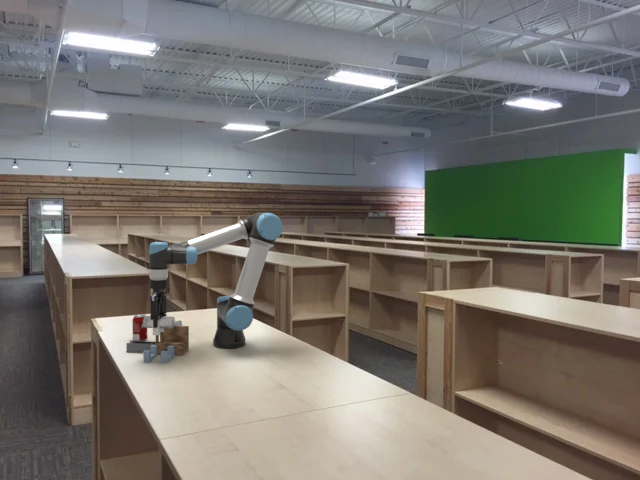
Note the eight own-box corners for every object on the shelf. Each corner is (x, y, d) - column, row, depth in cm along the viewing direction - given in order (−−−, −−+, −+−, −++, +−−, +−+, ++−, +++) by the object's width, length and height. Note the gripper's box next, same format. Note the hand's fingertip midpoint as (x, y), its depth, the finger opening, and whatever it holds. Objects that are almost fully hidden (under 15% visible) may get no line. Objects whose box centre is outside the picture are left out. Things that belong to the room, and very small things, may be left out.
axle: (174, 327, 229) (175, 315, 229) (170, 329, 224) (171, 317, 224) (147, 326, 230) (147, 314, 230) (142, 328, 225) (143, 316, 225)
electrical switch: (171, 343, 254) (170, 323, 254) (163, 342, 257) (162, 323, 257) (185, 339, 263) (184, 320, 262) (177, 338, 265) (176, 320, 265)
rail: (160, 350, 242) (160, 341, 242) (156, 353, 237) (156, 344, 237) (130, 349, 243) (130, 340, 242) (126, 352, 238) (126, 343, 238)
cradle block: (174, 356, 233) (174, 345, 233) (166, 363, 224) (166, 352, 223) (151, 355, 233) (151, 345, 233) (143, 362, 224) (143, 351, 224)
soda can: (138, 343, 254) (137, 318, 253) (129, 340, 258) (129, 315, 257) (150, 340, 259) (150, 315, 258) (142, 337, 263) (141, 313, 262)
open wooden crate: (188, 350, 243) (188, 323, 242) (182, 355, 235) (182, 328, 234) (162, 349, 244) (162, 322, 243) (155, 354, 235) (155, 327, 234)
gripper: (157, 275, 235) (157, 328, 237) (141, 281, 217) (141, 338, 219) (174, 276, 235) (174, 328, 236) (159, 282, 217) (159, 339, 218)
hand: (158, 333), depth 228 cm, fingers closed on axle, 5 cm apart
